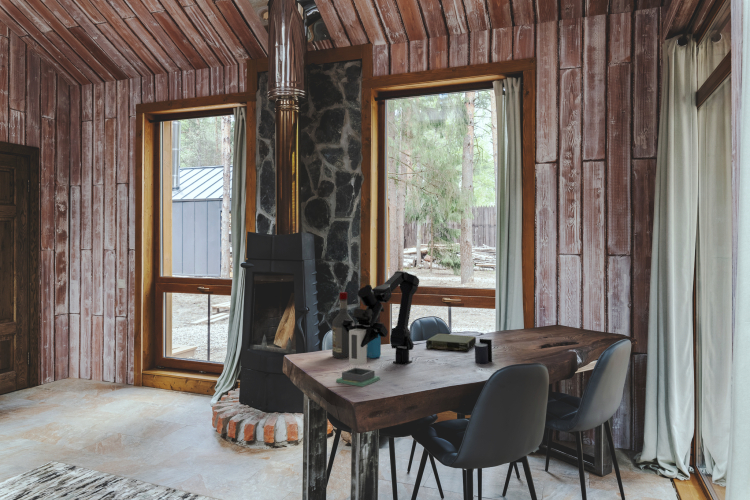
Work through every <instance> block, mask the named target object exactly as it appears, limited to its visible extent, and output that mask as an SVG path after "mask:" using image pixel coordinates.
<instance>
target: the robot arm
mask: <svg viewBox="0 0 750 500" xmlns="http://www.w3.org/2000/svg"><path fill="white" fill-rule="evenodd" d="M419 285H420V279H419V278H418V276H417V275H414V274H411V273H409V272H408V271H405V270H395V271H394V273H393V274H392V275H391V277H389V278H388V279H387V280H386V281H385V282H384V283H383V284H381V285H380V284H379V285H376V286H375V287H372V285H371V284H365V286H363V287H362V288H360V289H359V290H358V291H357V296H358V298H359V299H360V301H361V303H362V304H363V305H364V306H365V307H366V308H365V309H362V308H354V309H353V313H352V316H351V318H355V319H356V322H357V323H355V321H354V322H353V320H354V319H353V320H344V321H343V322H342V324H341V325H342V326H343V328H344V329H345V330H346V332H347V333H349V330H352V329H365V330H366V334H365V336H364V339H363V341H362V343H361V347H364V346H365V345H366V344H368V343H369V342H370V341H372V340H374V339H375V338H378V334H379V336H380V337H381V338H387V337H388V333H389V331H388V329H387V327H386V326H385V324H384V322H379V319H378V317H379V316H380V313H381V312H385V308H384V305H383V304H382V303H388V302H389V301H390V299H391V298H392V296H393V295H392V293H393V292H394V291H395V290H396V289H397V288H398V287H399V289H400V292H401V296H400V297H401V298H400V302H399V303H400V304H399V310H398V316H397V321H396V326H395V327H392V329H391V333H390V337H389V338H390V339H389V340H390V345H391V349H395V353H394V355H395V356H394V357H395V360H393V361H392V363H393V364H397V365H398V364H399V365H408V364H410V363H412V362H413V360H410V351H412V350H414V344H415V343H414V342H413V340H412V338H411V331H410V329H409V321H410V314H411V309H412V302H413V296H414V295H415V293H416V292H418V288H419Z"/></svg>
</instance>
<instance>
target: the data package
mask: <svg viewBox="0 0 750 500" xmlns="http://www.w3.org/2000/svg"><path fill="white" fill-rule="evenodd" d="M381 338H382V337H380V336H379V334H378V338H375V339H374V340H372V341H370V342H369V343H368V344H367V358H368V357H369V358H368V359H375V358H376V359H377V358H380V357H381V354H382V353H381V352H382V351H381V350H382V345H381V344H382V343H381V341H382V339H381Z"/></svg>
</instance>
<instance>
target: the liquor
mask: <svg viewBox="0 0 750 500" xmlns="http://www.w3.org/2000/svg"><path fill="white" fill-rule="evenodd" d="M348 312H349V311H348V292H347V291H344V292H342V291H341V292H339V311H338V314H337V315H336V316H335V317H334V319H332V323H331V329H332V330H331V333H332V334H331V335H332V337H331V338H332V339H331V340H332V342H331V343H332V345H331V346H332V348H331V351H332V356H333V358H335V359H339V360H343V359H345V360H346V359H349V333H347V332H346V330H345V329H344V328H343V326H342V325H341V324H342V322H343V321H344V320H353V322H354V323H355V320H354V318H353V317H352V316H351V315H350V314H349V313H348Z"/></svg>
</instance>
